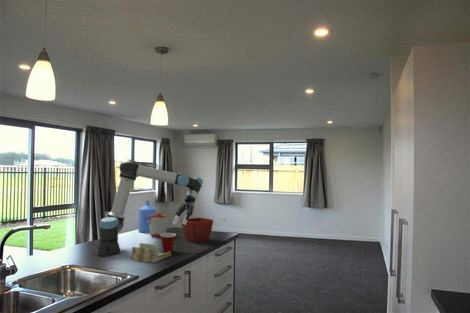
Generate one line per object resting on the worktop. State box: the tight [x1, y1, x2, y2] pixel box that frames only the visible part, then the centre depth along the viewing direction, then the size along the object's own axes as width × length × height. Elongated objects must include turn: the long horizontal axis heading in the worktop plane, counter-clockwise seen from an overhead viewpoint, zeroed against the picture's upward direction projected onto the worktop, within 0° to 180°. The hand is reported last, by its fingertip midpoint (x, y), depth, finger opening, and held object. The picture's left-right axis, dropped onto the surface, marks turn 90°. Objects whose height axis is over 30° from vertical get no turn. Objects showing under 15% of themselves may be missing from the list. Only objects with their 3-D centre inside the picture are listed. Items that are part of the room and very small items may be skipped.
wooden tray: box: [130, 246, 172, 264], centre depth 221 cm, size 17×19×8 cm
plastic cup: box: [159, 232, 177, 253], centre depth 238 cm, size 11×11×12 cm
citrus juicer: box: [147, 212, 168, 238], centre depth 296 cm, size 16×17×20 cm
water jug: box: [137, 200, 157, 234], centre depth 317 cm, size 16×16×28 cm
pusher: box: [138, 242, 159, 257], centre depth 219 cm, size 14×1×8 cm, turn 67°
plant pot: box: [180, 217, 214, 244], centre depth 276 cm, size 19×19×17 cm
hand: (178, 224), depth 240 cm, fingers open, 13 cm apart
